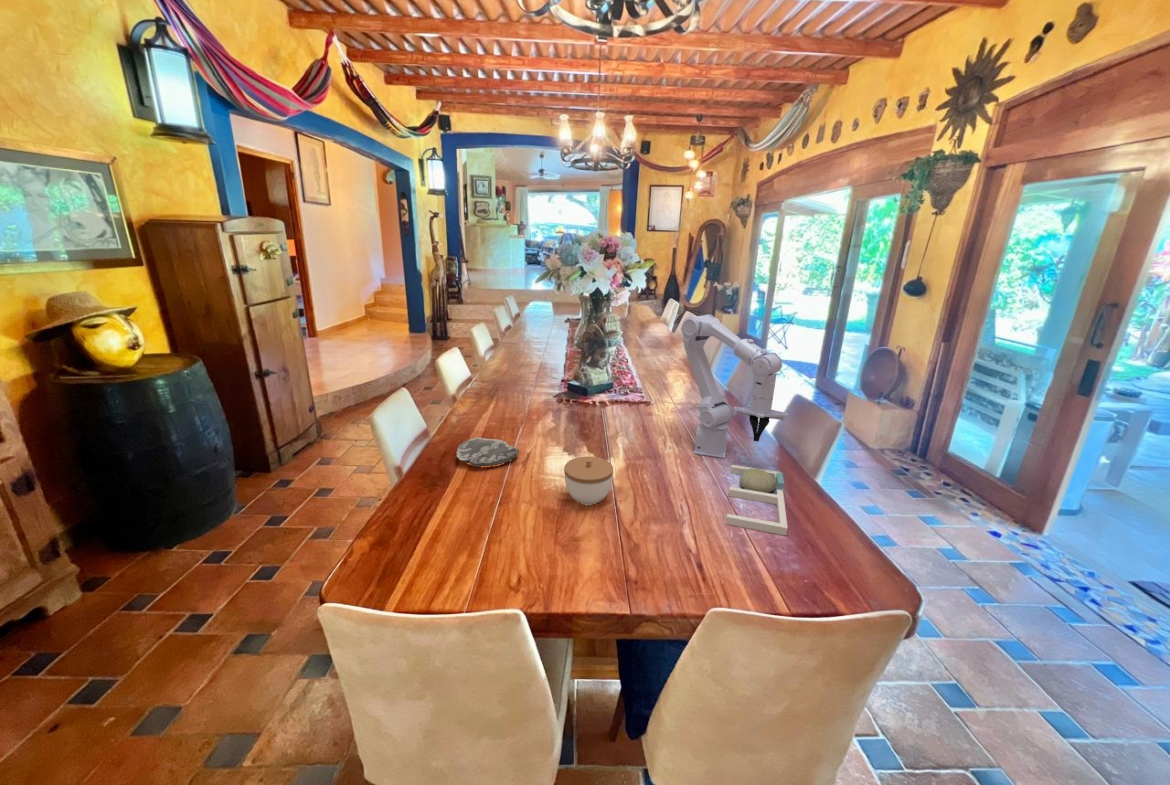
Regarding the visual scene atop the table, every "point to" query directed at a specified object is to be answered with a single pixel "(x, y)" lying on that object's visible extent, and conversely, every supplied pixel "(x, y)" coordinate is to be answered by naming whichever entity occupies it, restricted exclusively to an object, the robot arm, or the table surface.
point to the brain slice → (486, 452)
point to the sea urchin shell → (757, 480)
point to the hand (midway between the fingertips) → (756, 439)
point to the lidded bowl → (588, 479)
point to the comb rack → (762, 497)
